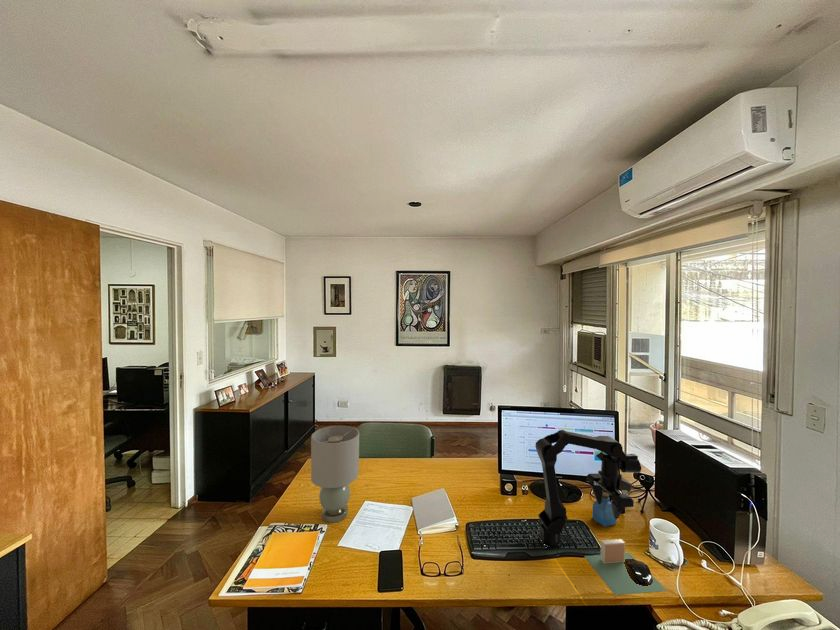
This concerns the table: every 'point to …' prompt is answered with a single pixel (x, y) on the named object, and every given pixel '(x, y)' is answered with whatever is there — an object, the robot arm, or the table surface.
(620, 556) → the block
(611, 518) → the blue bottle
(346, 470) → the lamp
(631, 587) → the mat
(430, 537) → the table surface
